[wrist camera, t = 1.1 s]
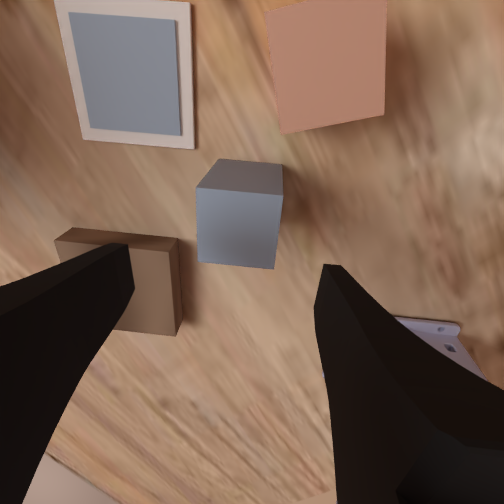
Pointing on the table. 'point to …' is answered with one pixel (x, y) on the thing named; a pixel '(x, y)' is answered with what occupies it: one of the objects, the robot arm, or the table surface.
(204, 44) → the table surface
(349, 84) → the terracotta block
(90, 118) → the tile
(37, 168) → the table surface
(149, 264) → the walnut slab
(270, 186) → the blue block
